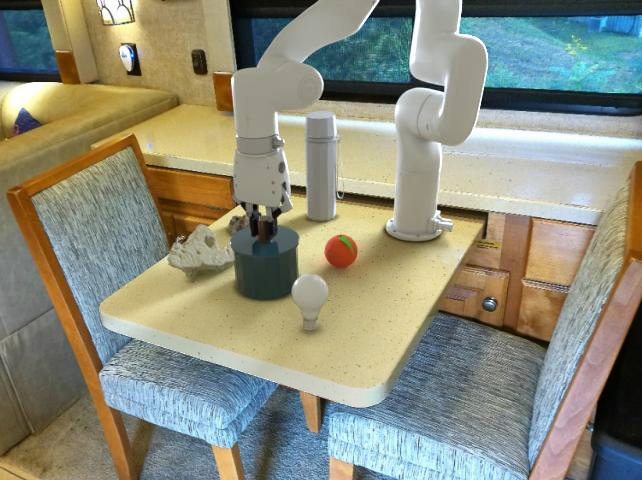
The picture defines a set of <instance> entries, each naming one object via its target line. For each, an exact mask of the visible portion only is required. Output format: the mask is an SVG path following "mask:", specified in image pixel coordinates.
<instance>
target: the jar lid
mask: <svg viewBox="0 0 642 480" xmlns="http://www.w3.org/2000/svg"><path fill="white" fill-rule="evenodd" d="M256 220H257V233H258V235H257V236H256V237H252V236H251V230H250V227H248V228H245V229H242V230H240V231H238V232H237V233H235V234H234V235H233V234H232V236H231V238H229V246H230V247H229V248H231V249H232V250H233V251H234V252H235V253H237V254H239V255H241V256H244V257H249V258H257V259H264V258H274V257H278V256H282V255H285V254H287V253H289V252H291V251H293V250H294V249H295V248H296V247H297V246H298V247H299V245H300V241H301V237H300V235H299V233H298V232H297V231H296V230H295V229H294V228H292V227H289V226H285V225H282V224H281V225H280V224H278V233H277V235H276V236H275V237H274V238H272V239H271V240H270V241H268V240H266V236H265V221H267V216H266V215H263V214H262V216H259V217H257V218H256Z"/></svg>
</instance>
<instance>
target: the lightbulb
mask: <svg viewBox="0 0 642 480" xmlns="http://www.w3.org/2000/svg"><path fill="white" fill-rule="evenodd" d="M328 297H329V288H328V284H327V283H326V281H325V279H324V278H323V277H321V276H319V275H317V274H315V273H304V274H302V275H299V278H297V279H296V281H295V282H294V284H293V286H292V291H291V298H292V300H293V302H294V304H295V305H296V307H298V308H299V310H300V314H301V316H302V327H303V329H304V330H306V331H310V332H311V331H315V330H317V329H318V328H319V315H320V314H321V313H320V312H321V309H322V308H323V307H324V305H325V303H326V302H327V300H328Z"/></svg>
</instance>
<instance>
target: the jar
mask: <svg viewBox="0 0 642 480" xmlns="http://www.w3.org/2000/svg"><path fill="white" fill-rule="evenodd" d="M233 260H234V264H233V271H234V279H235V285H236V289H237V291H238V292H239V293H240V295H242V296H243V297H246V298H248V299H251V300H256V301H274V300H279V299H282V298H286V297H288V296H289V295H292V293H291V291H292V286H293V284H294V282H295V281H296V279H297V278H299V277H300V275H299V271H300V270H299V245H298V246H297V247H296V248H295V249H294V250H293V251H291V252H289V253H287V254H285V255H282V256H278V257H274V258H264V259H257V258H249V257H244V256H241V255H239V254H237V253H235V252H234V251H233Z"/></svg>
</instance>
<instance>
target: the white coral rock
mask: <svg viewBox="0 0 642 480" xmlns="http://www.w3.org/2000/svg"><path fill="white" fill-rule="evenodd" d="M167 265H168V266H169V267H172V268H174V269H178V270H180V271H181V272H182V273H184V274H185V277H187V279H188V280H189V281H191V280H193V278H194V277H195V274H196V273H200V272H201V271H203V270H212V271H221V270H223V269H226V268H228V267H231V266H234V260H233V250H232V249H231V247H229V246H228V247H227V246H222V247H221V248H219V247H218V240H217V236H216V234H215V232H214V231H213V230H211V229H210V227H209V226H208V225H205V224H201V223H200V224H198V225H197V226H196V228H195V229H194V231H193V232H192V233H191V234H189V236H188V238H187V239H186V241H184V242H183V243H180V242H179V238H176V242H173V244H172V246H171V248H170V250H169V253H168V257H167Z"/></svg>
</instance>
